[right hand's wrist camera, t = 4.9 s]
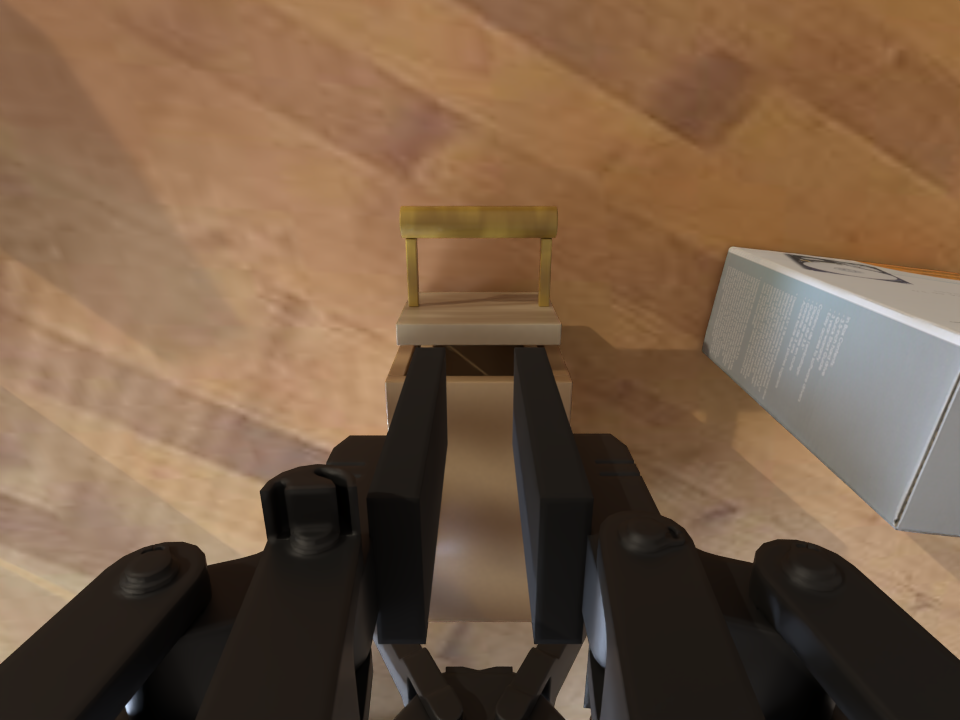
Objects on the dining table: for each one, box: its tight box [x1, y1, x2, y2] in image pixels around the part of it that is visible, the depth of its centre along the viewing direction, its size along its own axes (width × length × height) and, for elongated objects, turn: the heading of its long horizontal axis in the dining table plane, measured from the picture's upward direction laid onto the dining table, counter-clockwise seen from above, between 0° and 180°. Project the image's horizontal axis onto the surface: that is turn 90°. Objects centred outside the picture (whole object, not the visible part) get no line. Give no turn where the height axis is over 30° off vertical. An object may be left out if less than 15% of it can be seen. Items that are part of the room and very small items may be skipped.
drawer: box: [396, 206, 562, 376], centre depth 35 cm, size 21×9×7 cm, turn 0°
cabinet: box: [385, 345, 573, 622], centre depth 37 cm, size 16×10×9 cm, turn 0°
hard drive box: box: [702, 247, 960, 537], centre depth 28 cm, size 16×8×20 cm, turn 84°
